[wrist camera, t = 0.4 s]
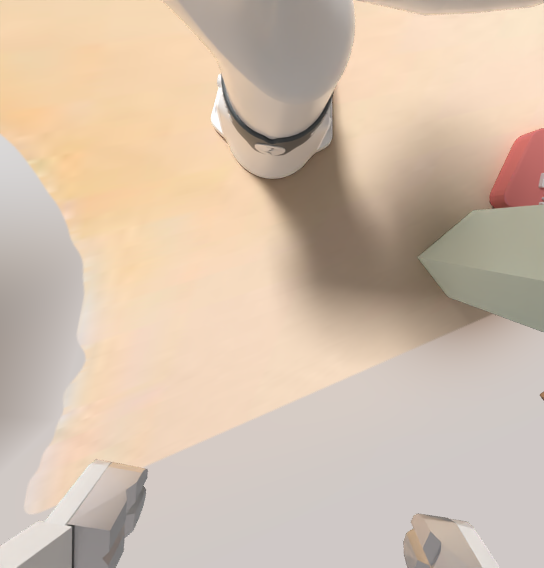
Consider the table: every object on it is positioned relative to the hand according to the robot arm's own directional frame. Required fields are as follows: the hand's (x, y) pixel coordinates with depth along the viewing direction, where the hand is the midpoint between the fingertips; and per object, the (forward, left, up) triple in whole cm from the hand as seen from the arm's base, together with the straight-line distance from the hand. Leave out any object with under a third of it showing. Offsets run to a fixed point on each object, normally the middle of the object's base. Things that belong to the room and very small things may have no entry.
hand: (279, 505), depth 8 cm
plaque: (-23, +46, -39) cm, 65 cm away
